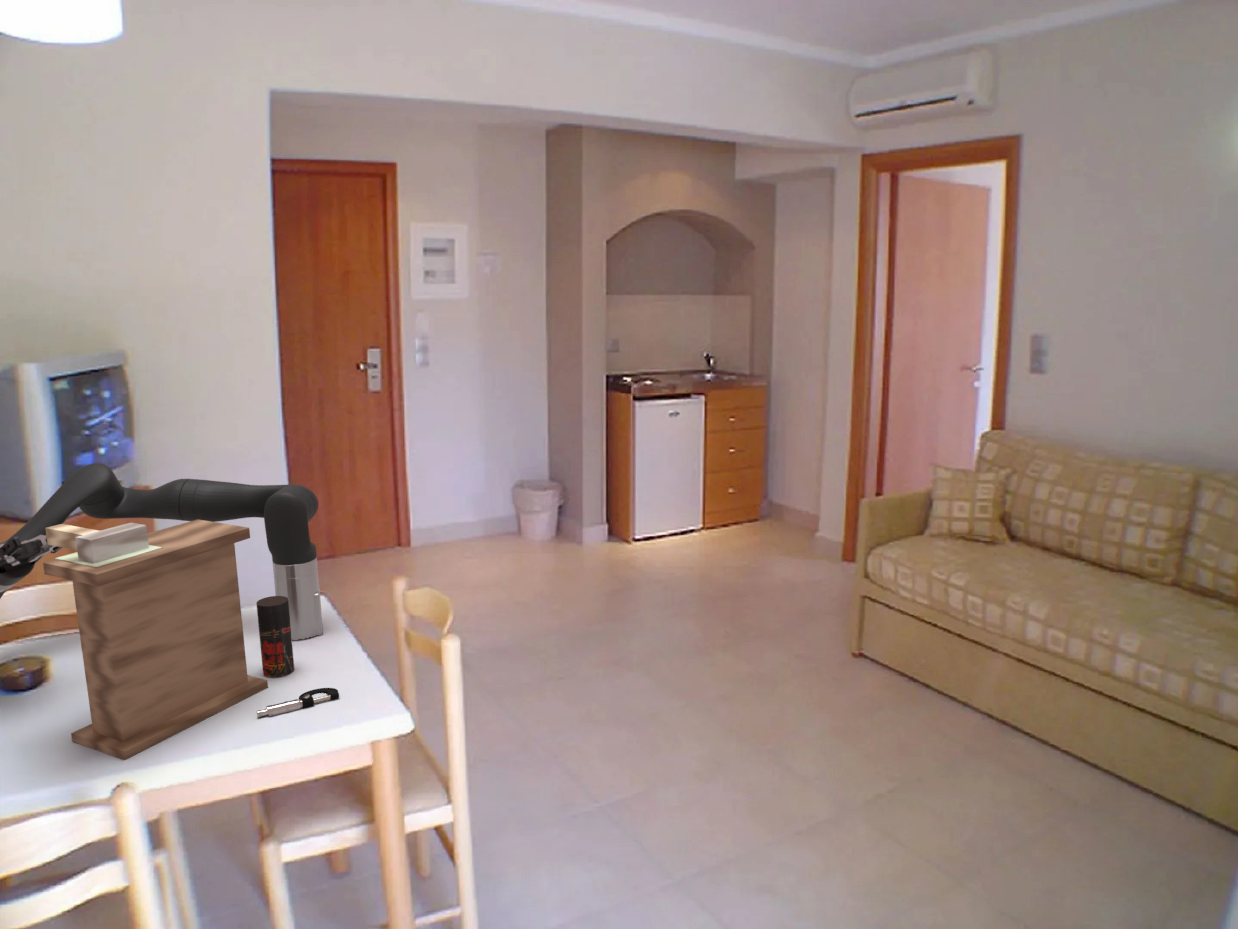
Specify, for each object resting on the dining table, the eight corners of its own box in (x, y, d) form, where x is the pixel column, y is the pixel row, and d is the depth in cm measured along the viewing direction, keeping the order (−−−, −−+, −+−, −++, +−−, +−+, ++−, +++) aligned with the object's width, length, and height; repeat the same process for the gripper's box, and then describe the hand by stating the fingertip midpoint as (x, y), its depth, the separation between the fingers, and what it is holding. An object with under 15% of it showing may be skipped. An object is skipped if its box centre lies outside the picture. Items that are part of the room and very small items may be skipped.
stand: (68, 740, 158) (42, 561, 151) (214, 673, 184) (197, 518, 177) (125, 760, 151) (100, 574, 144) (267, 687, 177) (252, 527, 170)
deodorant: (257, 672, 184) (250, 601, 181) (285, 662, 188) (279, 593, 185) (271, 680, 180) (265, 608, 177) (299, 671, 184) (293, 600, 181)
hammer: (27, 549, 158) (24, 527, 157) (83, 535, 166) (80, 513, 165) (94, 563, 150) (90, 540, 149) (148, 547, 158) (146, 525, 157)
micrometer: (333, 687, 178) (332, 675, 177) (343, 701, 172) (342, 689, 171) (251, 706, 170) (250, 694, 170) (259, 722, 164) (257, 709, 164)
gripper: (-47, 560, 165) (-8, 526, 157) (32, 539, 178) (72, 507, 170) (-30, 597, 165) (10, 565, 157) (49, 574, 177) (89, 543, 169)
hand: (42, 535), depth 163 cm, fingers open, 8 cm apart
